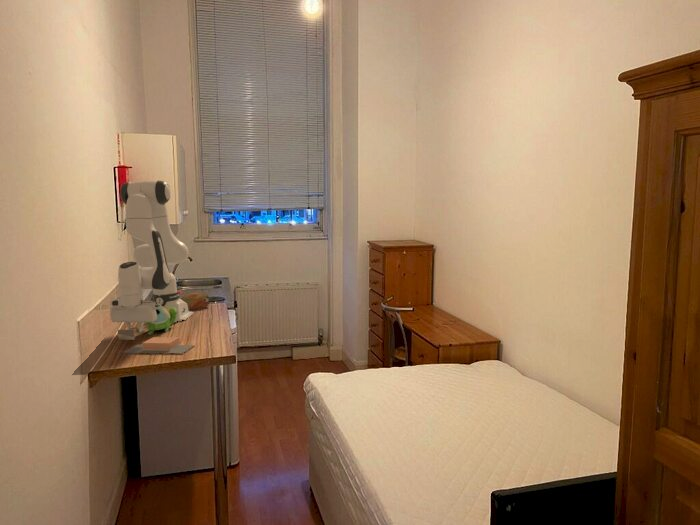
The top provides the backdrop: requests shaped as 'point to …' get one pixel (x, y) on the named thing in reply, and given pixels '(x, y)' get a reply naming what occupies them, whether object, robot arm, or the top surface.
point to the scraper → (132, 332)
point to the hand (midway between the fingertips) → (135, 331)
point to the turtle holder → (162, 319)
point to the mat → (177, 350)
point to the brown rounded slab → (196, 300)
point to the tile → (161, 343)
